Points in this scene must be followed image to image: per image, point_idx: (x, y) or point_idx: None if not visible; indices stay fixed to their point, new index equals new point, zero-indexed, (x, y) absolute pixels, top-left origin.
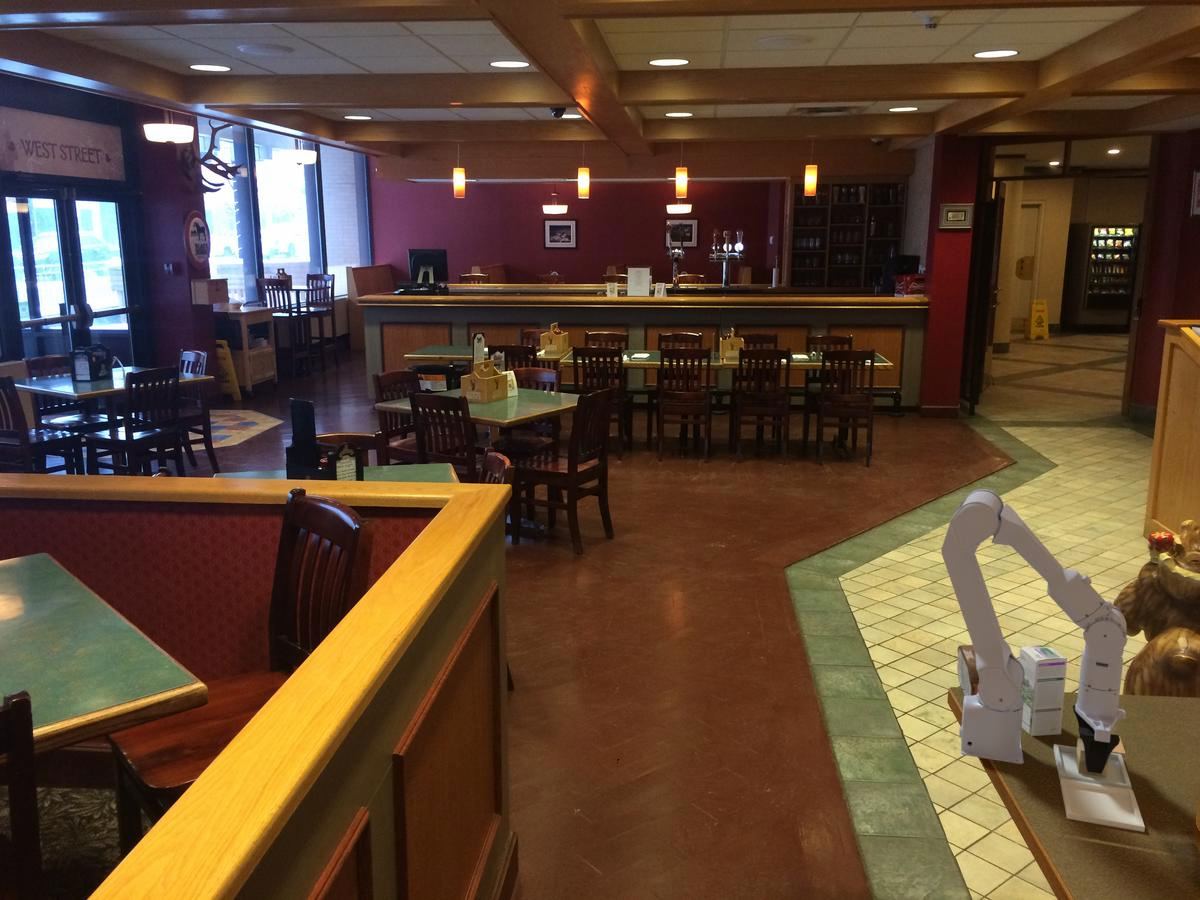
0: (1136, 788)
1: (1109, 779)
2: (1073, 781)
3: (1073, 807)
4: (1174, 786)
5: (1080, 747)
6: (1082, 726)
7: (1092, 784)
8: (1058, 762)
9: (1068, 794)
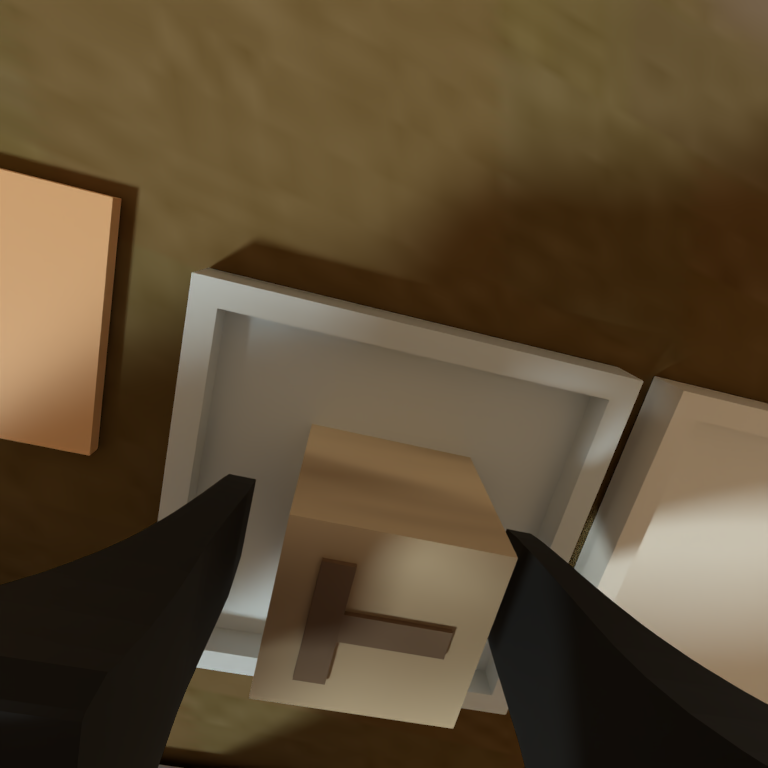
0: (560, 306)
1: (493, 448)
2: None
3: None
4: (538, 4)
5: (411, 720)
6: (161, 749)
7: (608, 593)
8: None
9: None
